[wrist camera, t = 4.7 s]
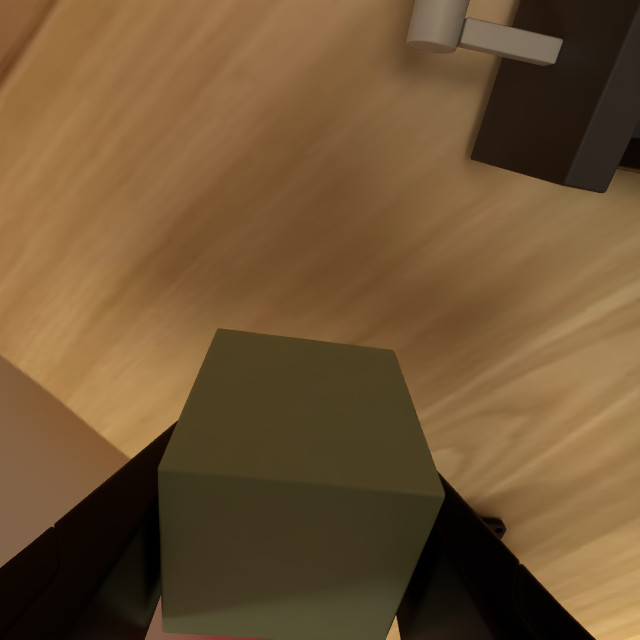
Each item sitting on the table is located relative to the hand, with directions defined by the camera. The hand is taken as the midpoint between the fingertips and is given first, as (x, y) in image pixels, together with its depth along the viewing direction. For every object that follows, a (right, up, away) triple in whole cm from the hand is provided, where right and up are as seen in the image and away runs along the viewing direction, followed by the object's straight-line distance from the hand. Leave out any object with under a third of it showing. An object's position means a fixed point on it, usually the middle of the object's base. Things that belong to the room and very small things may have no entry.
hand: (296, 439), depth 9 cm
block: (0, 0, +1) cm, 1 cm away
